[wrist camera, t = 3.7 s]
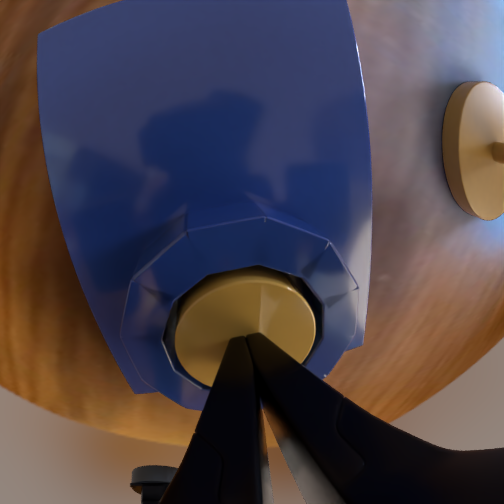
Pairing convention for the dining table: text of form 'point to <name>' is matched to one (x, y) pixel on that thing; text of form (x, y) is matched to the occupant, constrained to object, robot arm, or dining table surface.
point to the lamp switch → (240, 317)
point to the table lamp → (475, 148)
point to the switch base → (208, 166)
